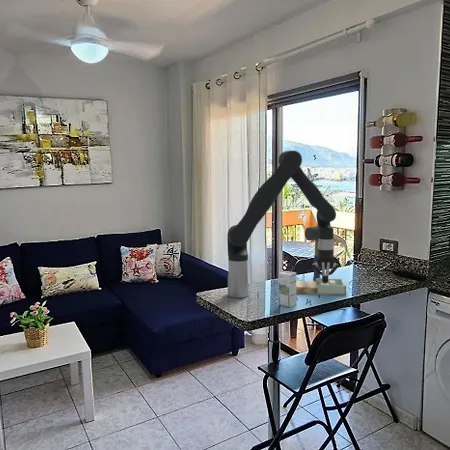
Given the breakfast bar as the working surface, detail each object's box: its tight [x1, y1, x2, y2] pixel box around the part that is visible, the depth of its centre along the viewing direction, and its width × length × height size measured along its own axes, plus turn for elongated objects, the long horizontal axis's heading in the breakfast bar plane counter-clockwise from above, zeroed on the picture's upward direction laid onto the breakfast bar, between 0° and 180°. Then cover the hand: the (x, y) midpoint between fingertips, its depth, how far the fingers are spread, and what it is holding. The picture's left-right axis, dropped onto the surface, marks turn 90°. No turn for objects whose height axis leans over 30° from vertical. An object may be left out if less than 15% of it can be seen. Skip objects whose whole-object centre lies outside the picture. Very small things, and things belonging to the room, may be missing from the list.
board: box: [296, 280, 318, 295], centre depth 208 cm, size 12×12×3 cm
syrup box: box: [278, 270, 297, 308], centre depth 184 cm, size 6×6×14 cm
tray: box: [316, 277, 347, 296], centre depth 206 cm, size 13×14×4 cm
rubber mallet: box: [304, 225, 321, 281], centre depth 220 cm, size 12×8×30 cm, turn 117°
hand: (325, 282), depth 206 cm, fingers closed
